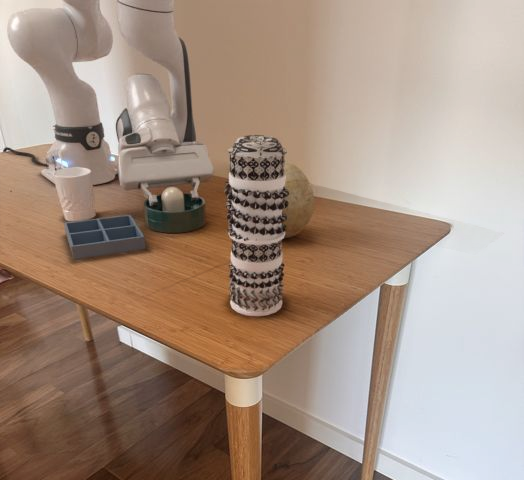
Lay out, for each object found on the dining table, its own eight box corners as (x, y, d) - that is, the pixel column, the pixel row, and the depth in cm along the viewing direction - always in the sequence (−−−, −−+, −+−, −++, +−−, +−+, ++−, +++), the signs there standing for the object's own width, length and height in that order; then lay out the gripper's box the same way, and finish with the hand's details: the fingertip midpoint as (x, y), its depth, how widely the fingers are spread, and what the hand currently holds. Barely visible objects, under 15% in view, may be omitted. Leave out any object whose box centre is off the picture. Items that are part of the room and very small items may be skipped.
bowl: (134, 225, 109) (130, 202, 107) (180, 210, 117) (178, 189, 115) (171, 240, 102) (169, 216, 99) (218, 224, 110) (217, 202, 108)
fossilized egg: (242, 229, 108) (242, 157, 100) (296, 222, 112) (300, 152, 103) (264, 251, 98) (265, 173, 90) (322, 243, 102) (328, 167, 94)
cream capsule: (159, 222, 109) (155, 187, 105) (176, 216, 112) (173, 182, 108) (173, 227, 107) (170, 192, 102) (190, 222, 110) (187, 187, 105)
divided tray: (66, 236, 103) (63, 222, 102) (132, 228, 108) (130, 214, 106) (74, 261, 93) (71, 246, 91) (146, 251, 98) (144, 236, 96)
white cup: (54, 220, 111) (44, 174, 105) (77, 209, 117) (68, 165, 112) (84, 225, 109) (75, 178, 103) (105, 214, 115) (98, 169, 109)
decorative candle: (218, 311, 79) (211, 142, 65) (241, 286, 86) (239, 129, 72) (272, 322, 76) (278, 149, 62) (291, 295, 83) (300, 135, 69)
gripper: (202, 149, 115) (217, 203, 113) (111, 156, 108) (126, 215, 106) (207, 131, 109) (224, 189, 107) (111, 138, 102) (127, 200, 100)
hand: (174, 202), depth 106 cm, fingers open, 7 cm apart
